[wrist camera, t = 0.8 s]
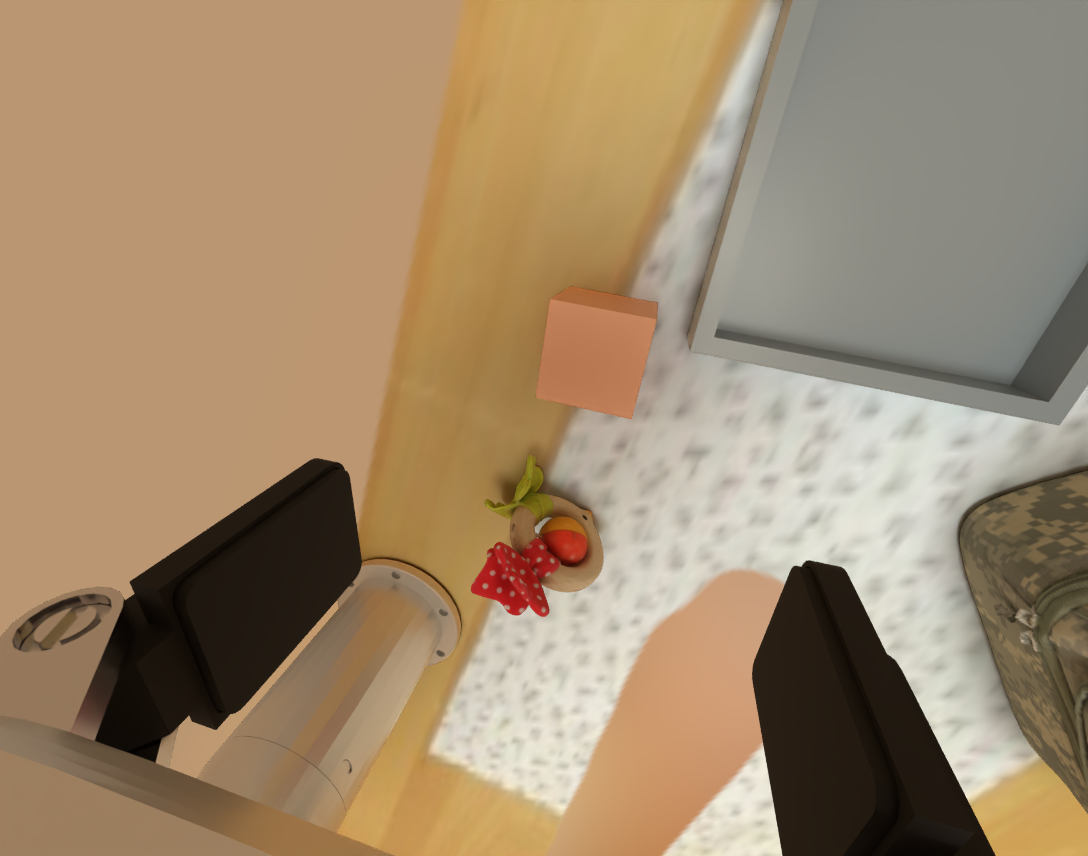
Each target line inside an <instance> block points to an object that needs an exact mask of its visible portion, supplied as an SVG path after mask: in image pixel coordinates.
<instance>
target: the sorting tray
mask: <svg viewBox="0 0 1088 856" xmlns="http://www.w3.org/2000/svg"><path fill="white" fill-rule="evenodd" d="M687 341H688V345H689V349H690V351H691V352H696V353H701V354H706V355H711V356H716V357H721V358H726V359H731V360H736V361H741V362H746V363H751V364H756V365H761V366H766V367H771V368H776V369H781V370H786V371H791V372H796V373H801V374H806V375H811V376H816V377H821V378H826V379H831V380H835V381H840V382H845V383H850V384H855V385H860V386H865V387H870V388H875V389H880V390H885V391H890V392H895V393H900V394H905V395H910V396H915V397H920V398H925V399H930V400H935V401H940V402H945V403H950V404H955V405H960V406H965V407H970V408H975V409H980V410H985V411H990V412H995V413H1000V414H1005V415H1010V416H1015V417H1020V418H1025V419H1030V420H1035V421H1040V422H1045V423H1050V424H1055V425H1060V424H1061V422H1062V421H1063V419H1064V418H1065V416H1066V415H1067V414H1068V412H1069V411H1070V409H1071V408H1072V407H1073V405H1074V404H1075V402H1076V401H1077V399H1078V398H1079V397H1080V395H1081V394H1082V392H1083V391H1084V390H1085V388H1086V387H1087V385H1088V0H783V4H782V7H781V11H780V14H779V18H778V21H777V25H776V28H775V32H774V35H773V39H772V42H771V46H770V49H769V53H768V56H767V60H766V63H765V67H764V70H763V74H762V77H761V81H760V84H759V88H758V91H757V95H756V98H755V102H754V105H753V109H752V112H751V116H750V119H749V123H748V126H747V130H746V133H745V137H744V140H743V144H742V147H741V151H740V154H739V158H738V161H737V165H736V168H735V172H734V175H733V179H732V182H731V185H730V189H729V192H728V196H727V199H726V203H725V206H724V210H723V213H722V217H721V220H720V224H719V227H718V231H717V234H716V238H715V241H714V245H713V248H712V252H711V255H710V259H709V262H708V266H707V269H706V273H705V276H704V280H703V283H702V287H701V290H700V294H699V297H698V301H697V304H696V308H695V311H694V315H693V318H692V322H691V325H690V329H689V332H688V336H687Z"/></svg>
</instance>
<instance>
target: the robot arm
mask: <svg viewBox="0 0 1088 856" xmlns="http://www.w3.org/2000/svg"><path fill="white" fill-rule="evenodd" d="M130 584H131V586H132V589H133V591H134V593H135V594H134V595H132V596H131V597H129V598H128V599H127V600H125V599H124V597H123V596H122V594H121V593H120V591H117V590H115V589H113V588H108V587H93V588H86V589H80V590H77V591H73V592H70V593H66V594H63V595H61V596H58V597H56V598H53V599H51V600H49V601H46V602H44V603H43V604H41V605H39V606H37V607H35V608H34V609H32V610H30V611H28V612H27V613H25V614H24V615H23V616H22V617H20V618H19V619H17V620H16V621H15V622H14V623H12V624H11V625H10V627H9V628H8V629H7V630H6V631H5V632H4V633H3V634H2V636H1V637H0V856H394V855H392V854H389V853H387V852H384V851H382V850H379V849H376V848H374V847H371V846H369V845H366V844H364V843H361V842H359V841H356V840H353V839H351V838H348V837H346V836H343V835H341V834H338V833H337V831H338V829H339V827H340V826H341V824H342V822H343V820H344V818H345V816H346V814H347V812H348V811H349V809H350V807H351V805H352V803H353V801H354V799H355V798H356V796H357V794H358V792H359V790H360V788H361V786H362V785H363V783H364V781H365V779H366V777H367V775H368V773H369V772H370V770H371V768H372V766H373V764H374V762H375V761H376V759H377V757H378V755H379V753H380V751H381V749H382V748H383V746H384V744H385V742H386V740H387V738H388V736H389V735H390V733H391V731H392V729H393V727H394V725H395V723H396V722H397V720H398V718H399V716H400V714H401V712H402V711H403V709H404V707H405V705H406V703H407V701H408V699H409V698H410V696H411V694H412V692H413V690H414V688H415V686H416V685H417V683H418V681H419V679H420V677H421V675H422V673H423V672H424V670H425V668H426V666H430V665H433V664H437V663H439V662H441V661H443V660H445V659H446V658H447V657H448V656H449V655H450V654H451V653H452V652H453V650H454V648H455V646H456V644H457V642H458V640H459V637H460V633H461V622H460V616H459V614H458V611H457V608H456V606H455V604H454V603H453V601H452V599H451V598H450V596H449V595H448V594H447V592H446V591H445V590H444V589H443V588H442V587H441V586H440V585H439V584H438V583H437V582H436V581H435V580H434V579H433V578H431V577H430V576H428V575H427V574H425V573H424V572H422V571H421V570H419V569H417V568H415V567H413V566H411V565H408V564H405V563H402V562H399V561H394V560H388V559H373V560H368V561H364V562H362V559H361V552H360V545H359V538H358V531H357V524H356V517H355V511H354V503H353V496H352V490H351V483H350V476H349V474H348V472H347V471H345V469H344V467H343V465H342V464H340V463H338V462H333V461H328V460H323V459H319V458H316V459H312V460H310V461H308V462H307V463H305V464H304V465H302V466H301V467H299V468H298V469H296V470H295V471H293V472H292V473H291V474H289V475H288V476H286V477H285V478H283V479H282V480H280V481H279V482H277V483H276V484H274V485H273V486H271V487H270V488H268V489H267V490H265V491H264V492H263V493H261V494H259V495H258V496H256V497H255V498H254V499H252V500H251V501H249V502H247V503H246V504H244V505H243V506H241V507H240V508H238V509H237V510H236V511H234V512H233V513H231V514H230V515H228V516H227V517H225V518H224V519H222V520H221V521H219V522H218V523H216V524H215V525H213V526H212V527H210V528H209V529H207V530H206V531H204V532H203V533H201V534H200V535H198V536H197V537H195V538H194V539H192V540H191V541H189V542H188V543H187V544H185V545H184V546H182V547H180V548H179V549H178V550H176V551H175V552H173V553H172V554H170V555H169V556H167V557H166V558H164V559H163V560H161V561H160V562H158V563H157V564H155V565H154V566H152V567H151V568H149V569H148V570H146V571H145V572H144V573H142V574H140V575H139V576H137V577H136V578H134V579H133V580H131V581H130ZM337 599H338V606H339V609H338V610H337V611H336V613H335V614H334V615H333V616H332V617H331V618H330V619H329V621H328V622H327V623H326V624H325V625H324V626H323V628H322V629H321V630H320V631H319V632H318V633H317V635H316V636H315V637H314V638H313V639H312V640H311V642H310V643H309V644H308V645H307V646H306V648H305V649H304V650H303V651H302V652H301V653H300V654H299V656H298V657H297V658H296V659H295V660H294V661H293V663H292V664H291V665H290V666H289V667H288V668H287V670H286V671H285V672H284V673H283V674H282V676H281V677H280V678H279V679H278V680H277V682H276V683H275V684H274V685H273V686H272V687H271V688H270V690H269V691H268V692H267V693H266V694H265V695H264V696H263V698H262V699H261V700H260V701H259V702H258V703H257V705H256V706H255V707H254V708H253V709H252V710H251V712H250V713H249V714H248V715H247V716H246V718H245V719H244V720H243V721H242V722H241V724H240V725H239V726H238V727H237V728H236V729H235V730H234V732H233V733H232V734H231V735H230V736H229V738H228V739H227V740H226V741H225V742H224V743H223V745H222V746H221V747H220V748H219V749H218V751H217V752H216V753H215V754H214V755H213V756H212V757H211V759H210V760H209V761H208V762H207V764H206V765H205V766H204V768H203V769H202V771H201V773H200V774H199V776H198V777H197V779H196V778H193V777H191V776H188V775H185V774H183V773H180V772H178V771H175V770H172V769H170V768H169V766H170V762H171V758H172V753H173V749H174V744H175V740H176V735H177V731H178V726H179V725H180V724H181V723H182V722H183V721H184V720H185V719H186V718H187V717H188V716H190V718H191V720H192V722H195V723H198V724H201V725H204V726H206V727H209V728H212V729H214V730H217V729H218V727H219V726H220V725H221V724H222V723H223V722H224V721H225V720H226V718H227V717H228V716H229V715H230V714H233V713H236V712H238V711H239V710H241V708H243V707H244V705H246V703H247V702H248V701H249V700H250V699H251V698H252V696H254V694H255V693H256V692H257V691H258V690H259V689H260V687H261V686H262V685H263V684H264V683H265V682H266V681H267V679H268V678H269V677H270V676H271V675H272V674H273V673H274V672H275V670H276V669H277V668H278V667H279V666H280V665H281V663H282V662H283V661H284V660H285V659H286V658H287V656H289V654H290V653H291V652H292V651H293V650H294V649H295V648H296V646H297V645H298V644H299V643H300V642H301V641H302V639H303V638H304V637H305V636H306V635H307V634H308V633H309V631H310V630H311V629H312V628H313V627H314V626H315V625H316V623H317V622H318V621H319V620H320V619H321V618H322V617H323V615H324V614H325V613H326V612H327V611H328V610H329V609H330V607H331V606H332V605H333V604H334V603H335V602H336V601H337ZM752 680H753V687H754V693H755V699H756V704H757V710H758V715H759V722H760V727H761V733H762V739H763V745H764V751H765V756H766V762H767V768H768V774H769V780H770V785H771V791H772V797H773V803H774V809H775V814H776V820H777V826H778V832H779V837H780V843H781V849H782V855H783V856H996V855H995V853H994V852H993V850H992V848H991V846H990V844H989V842H988V840H987V838H986V836H985V834H984V832H983V830H982V828H981V826H980V824H979V822H978V820H977V818H976V816H975V814H974V812H973V810H972V808H971V806H970V804H969V802H968V800H967V798H966V796H965V794H964V792H963V790H962V788H961V786H960V784H959V782H958V780H957V778H956V776H955V774H954V772H953V771H952V769H951V767H950V765H949V763H948V761H947V759H946V757H945V755H944V753H943V751H942V749H941V747H940V745H939V743H938V741H937V739H936V737H935V735H934V733H933V731H932V729H931V727H930V725H929V723H928V721H927V719H926V717H925V715H924V713H923V711H922V709H921V707H920V705H919V703H918V701H917V699H916V697H915V695H914V693H913V691H912V690H911V688H910V686H909V684H908V682H907V680H906V678H905V676H904V674H903V672H902V670H901V668H900V667H899V665H898V664H897V662H896V661H895V660H894V659H893V658H892V657H891V656H889V655H887V653H886V651H885V649H884V647H883V645H882V643H881V641H880V639H879V637H878V635H877V633H876V631H875V629H874V627H873V625H872V623H871V621H870V619H869V617H868V615H867V613H866V611H865V608H864V606H863V604H862V602H861V600H860V598H859V596H858V594H857V592H856V590H855V588H854V586H853V584H852V582H851V580H850V578H849V576H848V574H847V572H846V571H845V569H843V568H842V567H838V566H834V565H829V564H824V563H819V562H814V561H810V560H809V561H806V562H805V563H804V564H803V565H802V567H800V566H794V567H793V568H792V569H791V571H790V573H789V576H788V578H787V581H786V583H785V586H784V588H783V591H782V593H781V596H780V598H779V601H778V603H777V606H776V608H775V610H774V613H773V616H772V618H771V621H770V623H769V625H768V628H767V630H766V633H765V635H764V638H763V640H762V643H761V645H760V648H759V650H758V653H757V655H756V658H755V660H754V664H753V672H752Z"/></svg>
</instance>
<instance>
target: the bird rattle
mask: <svg viewBox="0 0 1088 856" xmlns="http://www.w3.org/2000/svg"><path fill="white" fill-rule="evenodd" d="M535 464H536V457H534V456H532V455H529V457H528V459H527V468H526V473H525V474H524V476H523V478H522V479H521V481H520V483H519V484H518V486H517V488H516V492H515V497H514V499H513V500H512V501H511V503H509V504H508V505H504V504H502V503H500V502H498V503H497V504H496V505H495V504H494V503H493V502H492V501H490V500H488V499H486V500H485V502H484V504H485V506H487V507H488V508H489V509H490V510H492V511H494V512H496V513H497V514H499V515H502V516H504V517H506V518H509V519H511V523H510V539H511V544H512V547H513V549H512V548H511V547H509V546H507V545H505V544H504V543H501V542H498V543H496V544H495V545H494V548H491V549H489V550H488V551H487V562H486V564H485V566H484V568H483V569H482V571H481V572H480V574H479V575H478V576H477V578H476V579H475V581H474V582H473V584H472V586H471V591H472V593H474V594H477V595H479V596H482V597H486V598H490V599H493V600H497V601H499V602H500V603H501V604H502V605H503V606H504V608H505V609H506V610H507V612H508V613H510V614H512V615H520V614H522V613H523V612H524V611H525V610H526V608H527V607H528V605H530V607H531V608H532V610H533V611H534V612H535V613H536V614H538V615H539V616H541V617H545V616H547V615H548V614H549V606H548V603H547V600H546V597H545V594H544V591H543V588H542V585H543V586H545V587H547V588H550V589H552V590H556V591H560V592H575V591H579V590H582V589H584V588H586V587H588V586H589V585H590V584H591V583H592V582H593V581H594V580H595V579H596V578H597V577H598V575H599V574H600V572H601V569H602V566H603V548H602V543H601V540H600V537H599V534H598V532H597V530H596V528H595V527H594V524H593V516H592V513H591V512H590V511H588V510H582V509H580V508H578V507H577V506H576V505H574V504H573V503H571V502H569V501H567V500H565V499H562V498H560V497H557V496H553V495H546V494H545V493H537V491H538V490H539V488H540V486H541V485H542V483H543V479H544V477H543V472H542V470H541V468H540V467H535ZM546 517H551V518H552V519H550V520H549V521H547V522H546V523H545V524H544V525H543V527H542V528H541V530H540V532H539V534H537V533H535V526H536V525H538V523H539V522H540V521H542V520H543V519H544V518H546ZM537 537H538V538H537Z"/></svg>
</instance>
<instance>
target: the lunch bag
mask: <svg viewBox="0 0 1088 856" xmlns="http://www.w3.org/2000/svg"><path fill="white" fill-rule="evenodd" d="M960 547H961V553H962V557H963V562H964V566H965V570H966V573H967V577H968V581H969V584H970V588H971V591H972V594H973V596H974V599H975V602H976V605H977V608H978V611H979V613H980V616H981V619H982V622H983V624H984V627H985V630H986V633H987V636H988V638H989V642H990V645H991V648H992V651H993V654H994V657H995V660H996V663H997V666H998V669H999V672H1000V675H1001V678H1002V681H1003V684H1004V687H1005V690H1006V692H1007V695H1008V698H1009V701H1010V704H1011V706H1012V709H1013V712H1014V715H1015V717H1016V720H1017V722H1018V724H1019V726H1020V728H1021V730H1022V732H1023V734H1024V736H1025V737H1026V739H1027V741H1028V742H1029V744H1030V745H1031V746H1032V748H1033V749H1034V750H1035V751H1036V753H1037V754H1038V755H1039V756H1040V757H1041V758H1042V759H1043V760H1044V761H1045V762H1046V764H1047V765H1048V766H1049V767H1050V768H1051V769H1052V770H1053V771H1054V772H1055V773H1056V774H1057V775H1058V776H1059V777H1060V778H1061V780H1062V781H1063V782H1064V783H1065V784H1066V785H1067V787H1068V788H1069V789H1070V790H1071V792H1072V793H1073V795H1074V796H1075V797H1076V799H1077V800H1078V801H1079V803H1080V804H1081V805H1082V807H1083V808H1084V809H1085V811H1086V812H1087V813H1088V471H1084V472H1081V473H1077V474H1073V475H1069V476H1066V477H1062V478H1058V479H1054V480H1051V481H1047V482H1043V483H1039V484H1036V485H1033V486H1029V487H1026V488H1023V489H1020V490H1017V491H1014V492H1011V493H1009V494H1006V495H1003V496H1000V497H997V498H995V499H993V500H991V501H989V502H986V503H984V504H983V505H981V506H979V507H978V508H977V509H975V510H974V511H973V512H972V513H971V514H970V515H969V516H968V517H967V518H966V520H965V521H964V523H963V526H962V528H961V532H960Z"/></svg>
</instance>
